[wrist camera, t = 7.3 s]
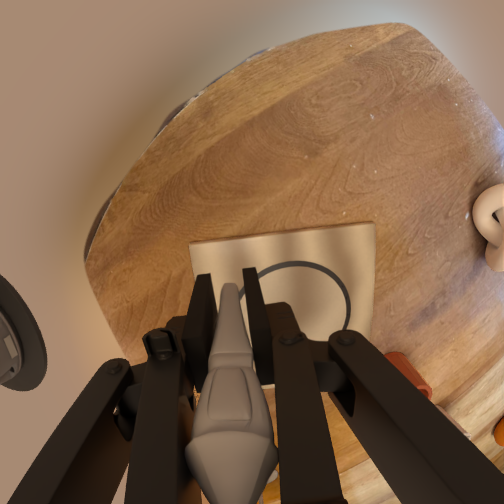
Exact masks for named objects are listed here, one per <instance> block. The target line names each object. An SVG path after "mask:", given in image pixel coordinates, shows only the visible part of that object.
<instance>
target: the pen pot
mask: <svg viewBox="0 0 504 504" xmlns="http://www.w3.org/2000/svg"><path fill="white" fill-rule="evenodd" d="M384 356H385V357H386V358H387V359H388V360H389V361H390V362H391V363H392V364H393V365H394V366H395V367H396V368H397V369H398V370H399V371H400V372H401V373H402V374H403V375H404V376H405V377H406V378H408V379H409V380H410V381H411V382H412V383H413V384H414V385H415V386H416V387H417V388H418V389H419V390H420V391H421V392H422V393H423V394H424V395H425V396H426V397H427V398H428V399H429V400H431V397H432V388H431V387H430V386H429V384H428V383H427V382H426V381H425V379H424V378H423V377H422V376H421V374H420V373H419V372H418V371H417V369H416V368H415V367H414V366H413V365H412V363H411V362H410V361H409V360H408V359H407V358H406V357H405V355H404V354H402V353H400V352H391V353H388V354H386V355H384Z"/></svg>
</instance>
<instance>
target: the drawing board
mask: <svg viewBox="0 0 504 504" xmlns="http://www.w3.org/2000/svg"><path fill="white" fill-rule="evenodd" d="M189 251H190V257H191V263H192V269H193V275H194V280H195V281H196V277H197V275H199V274H207V273H211V279H212V284H213V289H214V295H215V300H216V305H217V310H218V312H219V304H220V294H221V290H222V287H223V285H224V283H235V284H236V285H237V287H238V290H239V297H240V304H241V309H242V314H243V318H244V322H245V326H246V330H247V334H248V337H249V340H250V344H251V337H250V331H249V323H248V315H247V306H246V298H245V290H244V281H243V273H242V269H243V268H250V267H256V270H257V274H258V278H259V282H260V286H261V291H262V295H263V299H264V303H265V304H270V303H277V302H283V301H284V302H286V303H287V304H289V305H290V306H291V308H292V310H293V313H294V315H295V318H296V320H297V323H298V325H299V328H300V330H301V331H302V332H303V333H305V334H306V336H307V338H308V339H311V340H315V341H328V339H329V336H330V335H331V334H332V333H334V332H336V331H338V330H343V329H350V330H355V331H358V332H359V333H361V334H362V335H363V336H364V337H365V338H366V339H367V340H368V341H369V342H370V338H371V327H372V315H373V301H374V283H375V255H376V223H374V222H363V223H354V224H344V225H335V226H326V227H317V228H308V229H299V230H290V231H281V232H273V233H264V234H256V235H248V236H239V237H231V238H223V239H215V240H207V241H199V242H191V243H189ZM251 347H252V344H251ZM253 369H254V371H255V373H256V370H255V363H254V357H253ZM261 387H262V389H268V388H275V384H271V385H264V386H261Z"/></svg>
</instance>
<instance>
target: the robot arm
mask: <svg viewBox="0 0 504 504" xmlns="http://www.w3.org/2000/svg"><path fill="white" fill-rule="evenodd" d="M242 273H243V281H244V290H245V298H246V306H247V315H248V323H249V331H250V337H251V344H252V350H253V357H254V363H255V370H256V375H257V377H258V379H259V382H260V384H261V386H264V385H271V384H275V400H276V417H277V435H278V454H279V474H280V495H281V504H348V502H347V500H346V499H344V497H343V494H342V490H341V485H340V480H339V475H338V470H337V465H336V460H335V456H334V451H333V446H332V442H331V437H330V432H329V428H328V423H327V419H326V414H325V410H324V406H323V401H322V397H321V393H320V392H328V395H329V397H330V398H331V400H332V401H333V403H334V404H335V406H336V407H337V409H338V410H339V412H340V413H341V415H342V416H343V418H344V419H345V421H346V422H347V424H348V425H349V427H350V428H351V430H352V431H353V433H354V434H355V436H356V437H357V439H358V440H359V442H360V443H361V445H362V446H363V448H364V449H365V451H366V452H367V453H368V455H369V456H370V458H371V459H372V461H373V462H374V464H375V465H376V467H377V468H378V470H379V471H380V473H381V474H382V476H383V477H384V479H385V480H386V481H387V483H388V484H389V486H390V487H391V489H392V490H393V492H394V493H395V495H396V496H397V498H398V499H399V500H400V502H401V503H402V504H504V474H503V473H501V472H500V471H499V470H498V468H497V467H496V466H495V465H494V464H493V463H492V462H491V461H490V460H489V459H488V458H487V457H486V456H485V455H484V454H483V453H482V452H481V451H480V450H479V449H478V448H477V447H476V446H475V445H474V444H473V443H472V442H471V441H470V440H469V439H468V438H467V437H466V436H465V435H464V434H463V433H462V432H461V431H460V430H459V429H458V428H457V427H456V426H455V425H454V424H453V423H452V422H451V421H450V420H449V419H448V418H447V417H446V416H445V415H444V414H443V413H442V412H441V411H440V410H439V409H438V408H437V407H436V406H435V405H434V404H433V403H432V402H431V401H430V400H429V399H428V398H427V397H426V396H425V395H424V394H423V393H422V392H421V391H420V390H419V389H418V388H417V387H416V386H415V385H414V384H413V383H412V382H411V381H410V380H409V379H408V378H406V377H405V376H404V375H403V374H402V373H401V372H400V371H399V370H398V369H397V368H396V367H395V366H394V365H393V364H392V363H391V362H390V361H389V360H388V359H387V358H386V357H385V356H384V355H383V354H382V353H381V352H380V351H379V350H378V349H377V348H376V347H375V346H373V345H372V344H371V343H370V342H369V341H368V340H367V339H366V338H365V337H364V336H363V335H362V334H361V333H359V332H358V331H355V330H350V329H343V330H338V331H336V332H334V333H332V334H331V335H330V336H329V339H328V341H315V340H311V339H308V338H307V336H306V334H305V333H303V332H302V331H301V330H300V328H299V325H298V323H297V320H296V318H295V315H294V313H293V310H292V308H291V306H290V305H289V304H287V303H286V302H284V301H283V302H277V303H270V304H265V303H264V299H263V295H262V291H261V286H260V282H259V278H258V274H257V270H256V267H250V268H243V269H242ZM217 318H218V310H217V305H216V300H215V295H214V289H213V284H212V279H211V273H207V274H199V275H197V277H196V281H195V285H194V289H193V292H192V296H191V300H190V304H189V308H188V312H187V315H185V316H176V317H172V318H171V319H170V320H169V321H168V322H167V325H166V328H157V329H154V330H151V331H149V332H148V333H146V334H145V335H144V336H143V338H142V340H143V343H144V346H145V349H146V352H147V354H148V359H147V362H145V363H142V364H138V365H134V366H130V364H129V361H127V360H126V359H122V358H116V359H111V360H109V361H107V362H105V363H104V364H103V365H102V366H101V367H100V368H99V369H98V371H97V372H96V373H95V375H94V376H93V377H92V379H91V380H90V381H89V383H88V384H87V385H86V387H85V388H84V390H83V391H82V392H81V394H80V395H79V397H78V398H77V399H76V401H75V402H74V404H73V405H72V406H71V408H70V409H69V410H68V412H67V413H66V415H65V416H64V417H63V419H62V420H61V422H60V423H59V425H58V426H57V428H56V429H55V430H54V432H53V433H52V435H51V436H50V438H49V439H48V441H47V442H46V444H45V445H44V447H43V448H42V450H41V451H40V453H39V454H38V456H37V457H36V459H35V460H34V462H33V463H32V465H31V467H30V468H29V469H28V471H27V473H26V474H25V476H24V477H23V479H22V480H21V482H20V483H19V485H18V487H17V488H16V490H15V491H14V493H13V495H12V496H11V498H10V500H9V501H8V503H7V504H111V503H112V500H113V498H114V495H115V493H116V491H117V488H118V486H119V484H120V482H121V479H122V477H123V475H124V472H125V470H126V468H127V466H128V463H129V467H128V475H127V483H126V492H125V500H124V504H202V499H201V488H200V486H199V484H198V483H197V481H196V480H195V478H194V477H193V475H192V474H191V472H190V470H189V468H188V466H187V462H186V459H185V455H184V454H185V447H186V446H187V445H188V444H189V443H190V442H191V431H192V425H193V420H194V416H195V412H196V399H195V396H194V393H193V390H194V385H195V388H196V391H197V393H201V391H202V388H203V385H204V382H205V379H206V377H207V375H208V360H209V355H210V352H211V348H212V344H213V339H214V334H215V329H216V324H217ZM23 364H24V349H23V345H22V341H21V339H20V336H19V334H18V331H17V329H16V327H15V325H14V324H13V322H12V320H11V319H10V317H9V316H8V314H7V313H6V312H5V310H4V309H3V308H2V307H1V306H0V384H2V383H4V382H6V381H8V380H10V379H12V378H13V377H14V376H16V375H17V373H18V372H19V371H20V370H21V368H22V366H23ZM115 408H116V409H117V410H116V412H115V413H114V414H113V412H114V410H115Z"/></svg>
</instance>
